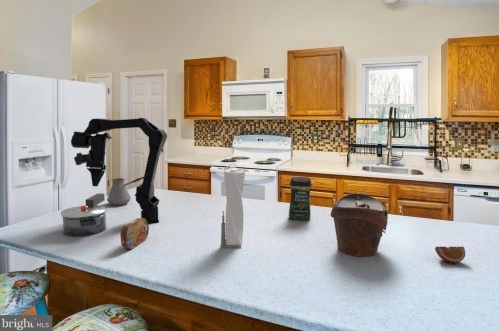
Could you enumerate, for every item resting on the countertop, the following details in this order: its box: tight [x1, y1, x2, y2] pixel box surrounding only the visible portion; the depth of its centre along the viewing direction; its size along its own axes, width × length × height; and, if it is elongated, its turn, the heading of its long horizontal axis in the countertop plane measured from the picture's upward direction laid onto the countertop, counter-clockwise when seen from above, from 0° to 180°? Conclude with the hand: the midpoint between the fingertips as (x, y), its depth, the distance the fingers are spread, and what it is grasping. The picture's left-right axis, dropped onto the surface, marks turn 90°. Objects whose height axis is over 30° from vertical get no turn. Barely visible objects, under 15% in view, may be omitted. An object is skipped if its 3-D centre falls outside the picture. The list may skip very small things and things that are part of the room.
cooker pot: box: [62, 212, 107, 238], centre depth 137 cm, size 26×15×7 cm, turn 32°
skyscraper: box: [220, 163, 246, 249], centre depth 120 cm, size 8×8×28 cm
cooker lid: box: [60, 192, 107, 219], centre depth 139 cm, size 25×16×4 cm, turn 2°
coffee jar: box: [288, 176, 312, 221], centre depth 152 cm, size 10×8×19 cm
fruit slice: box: [434, 246, 466, 264], centre depth 107 cm, size 8×7×5 cm
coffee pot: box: [106, 176, 144, 207], centre depth 176 cm, size 21×12×15 cm, turn 83°
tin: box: [120, 217, 150, 250], centre depth 120 cm, size 15×3×8 cm, turn 168°
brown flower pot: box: [330, 192, 389, 257], centre depth 115 cm, size 18×20×18 cm
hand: (95, 186), depth 142 cm, fingers open, 9 cm apart
